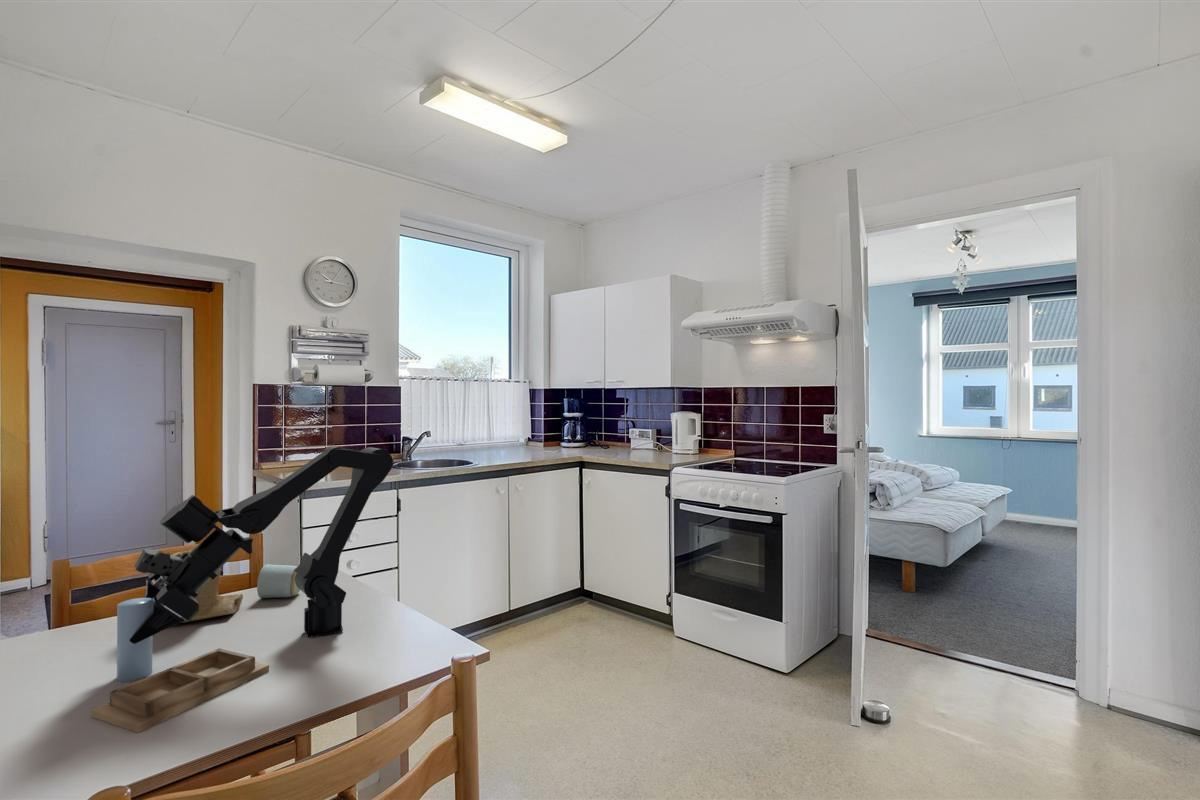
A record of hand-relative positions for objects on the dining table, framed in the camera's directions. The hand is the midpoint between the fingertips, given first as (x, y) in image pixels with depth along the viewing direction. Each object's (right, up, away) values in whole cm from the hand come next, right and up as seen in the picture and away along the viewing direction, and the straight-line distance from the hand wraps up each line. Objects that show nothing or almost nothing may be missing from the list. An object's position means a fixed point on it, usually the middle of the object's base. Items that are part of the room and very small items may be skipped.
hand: (129, 633), depth 102 cm
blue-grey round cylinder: (0, -7, +1) cm, 7 cm away
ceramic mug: (+3, -8, +43) cm, 43 cm away
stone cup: (-6, -7, +27) cm, 28 cm away
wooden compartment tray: (+13, -7, -5) cm, 16 cm away
